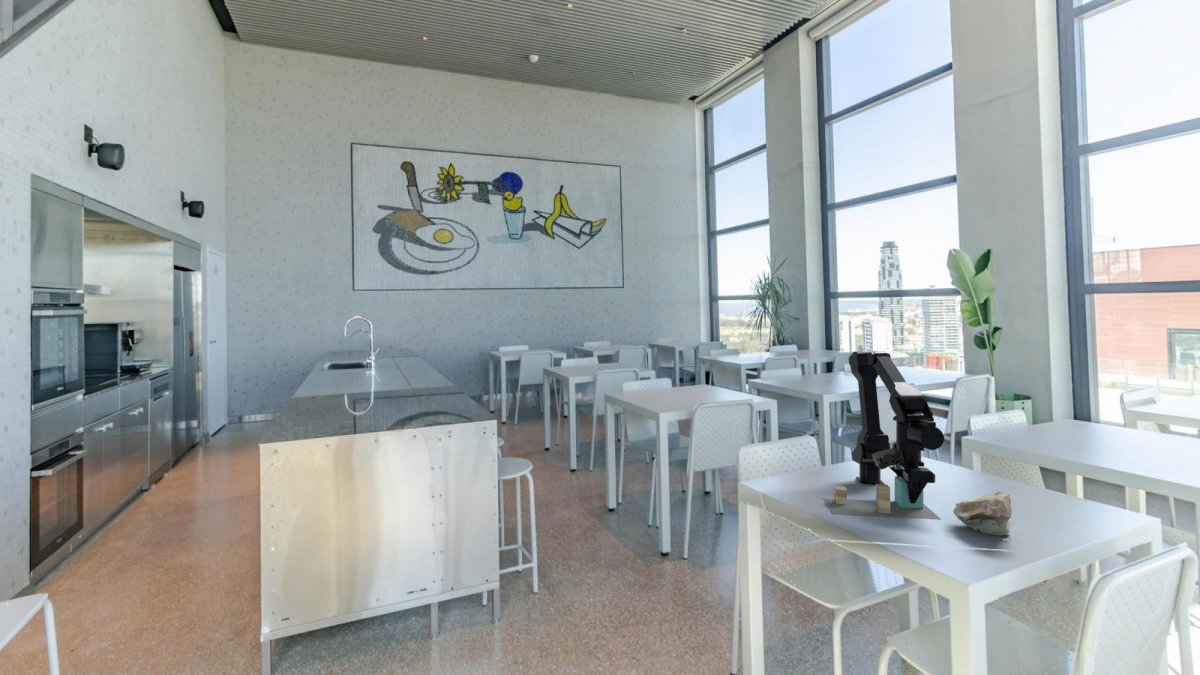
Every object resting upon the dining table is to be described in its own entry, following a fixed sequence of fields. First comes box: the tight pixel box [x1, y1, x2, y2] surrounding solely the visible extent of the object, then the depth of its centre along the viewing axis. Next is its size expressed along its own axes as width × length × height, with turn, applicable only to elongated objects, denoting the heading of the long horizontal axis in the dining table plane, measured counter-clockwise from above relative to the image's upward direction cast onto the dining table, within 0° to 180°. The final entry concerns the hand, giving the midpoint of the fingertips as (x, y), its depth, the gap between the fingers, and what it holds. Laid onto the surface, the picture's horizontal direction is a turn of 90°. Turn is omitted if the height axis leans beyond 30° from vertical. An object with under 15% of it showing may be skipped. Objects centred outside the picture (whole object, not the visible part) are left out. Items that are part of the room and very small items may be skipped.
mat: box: [821, 498, 942, 521], centre depth 140 cm, size 12×25×1 cm, turn 79°
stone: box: [953, 491, 1013, 537], centre depth 125 cm, size 11×14×10 cm
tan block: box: [833, 485, 848, 505], centre depth 145 cm, size 3×3×4 cm
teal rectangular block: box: [894, 475, 924, 508], centre depth 143 cm, size 5×5×7 cm
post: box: [875, 483, 891, 513], centre depth 138 cm, size 3×3×6 cm
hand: (908, 499), depth 143 cm, fingers closed on teal rectangular block, 5 cm apart
